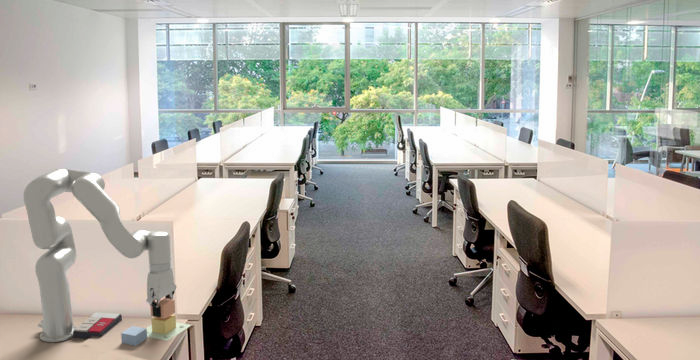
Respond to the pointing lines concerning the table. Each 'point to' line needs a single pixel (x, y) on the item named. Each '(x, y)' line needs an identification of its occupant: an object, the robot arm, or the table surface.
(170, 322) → the ochre brick
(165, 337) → the build plate
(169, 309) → the terracotta brick
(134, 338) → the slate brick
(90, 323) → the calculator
